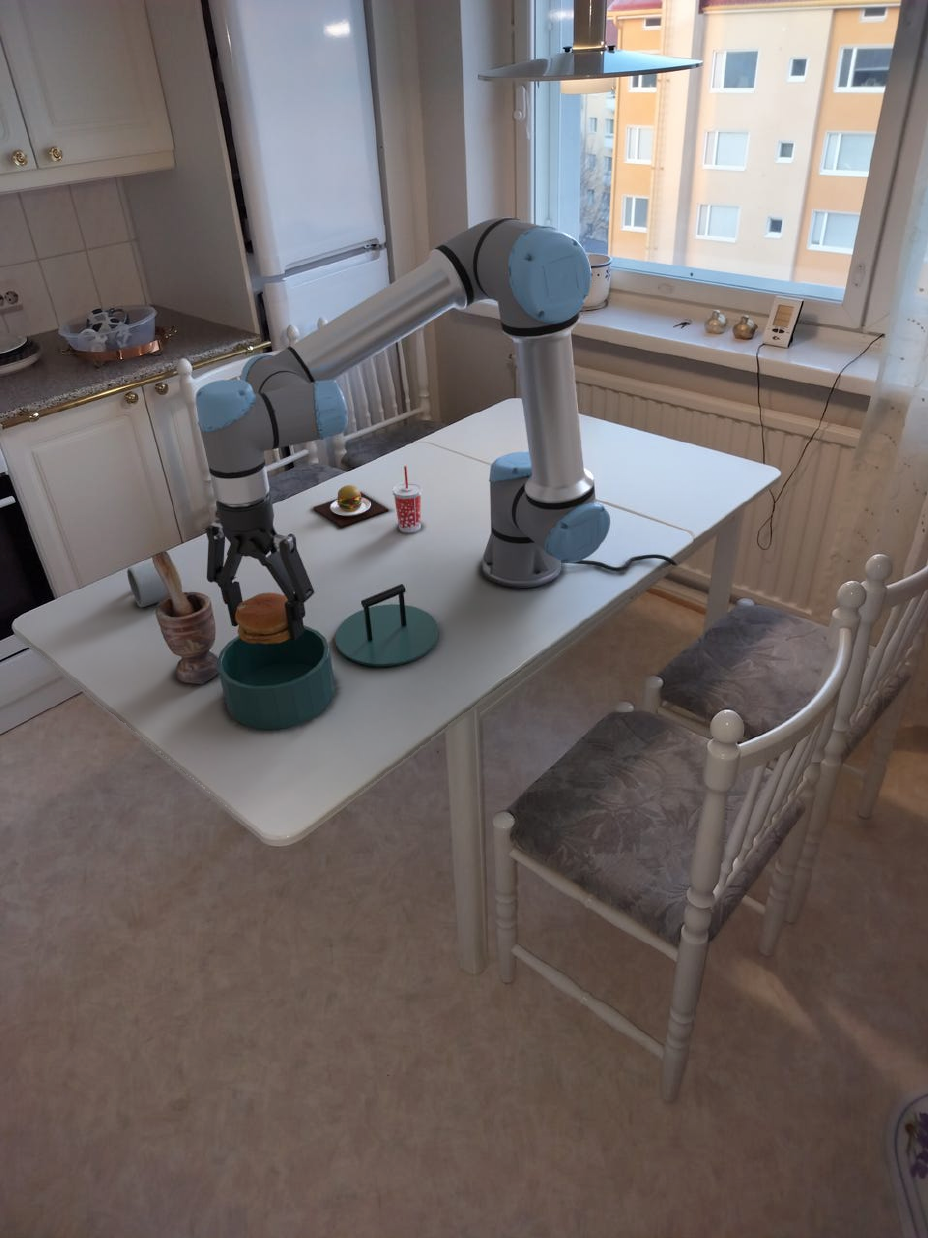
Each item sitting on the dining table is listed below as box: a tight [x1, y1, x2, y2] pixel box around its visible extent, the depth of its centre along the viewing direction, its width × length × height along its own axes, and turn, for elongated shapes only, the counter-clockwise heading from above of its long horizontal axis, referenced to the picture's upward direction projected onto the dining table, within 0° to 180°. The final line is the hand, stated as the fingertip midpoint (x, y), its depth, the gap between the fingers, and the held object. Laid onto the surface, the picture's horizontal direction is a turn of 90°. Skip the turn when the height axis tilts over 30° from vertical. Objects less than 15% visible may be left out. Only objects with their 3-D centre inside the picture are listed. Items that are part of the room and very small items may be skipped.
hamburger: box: [313, 484, 389, 529], centre depth 191 cm, size 12×12×6 cm
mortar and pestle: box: [151, 550, 219, 685], centre depth 140 cm, size 12×9×20 cm
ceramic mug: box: [126, 561, 183, 608], centre depth 163 cm, size 11×8×8 cm
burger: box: [235, 592, 290, 644], centre depth 131 cm, size 10×9×5 cm
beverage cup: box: [391, 465, 423, 534], centre depth 180 cm, size 6×6×14 cm
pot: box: [217, 625, 335, 731], centre depth 137 cm, size 17×17×8 cm
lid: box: [334, 583, 440, 667], centre depth 148 cm, size 18×18×9 cm
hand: (268, 628), depth 132 cm, fingers closed on burger, 10 cm apart
